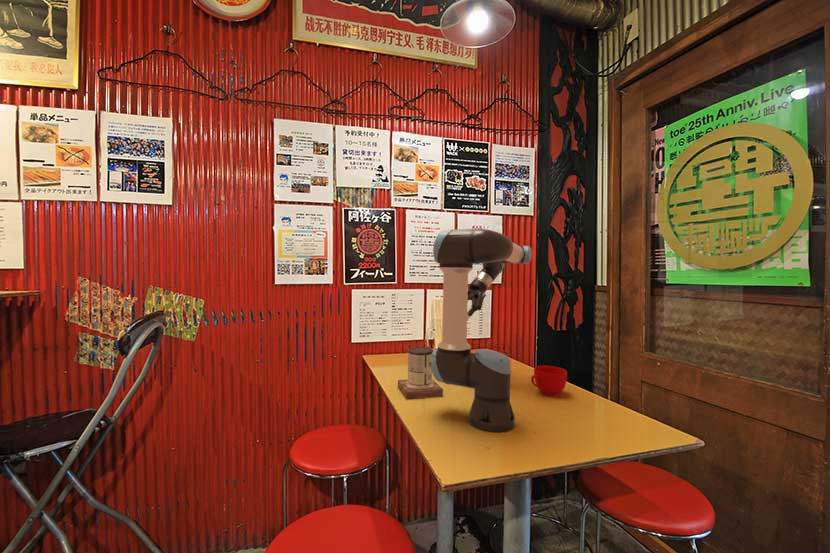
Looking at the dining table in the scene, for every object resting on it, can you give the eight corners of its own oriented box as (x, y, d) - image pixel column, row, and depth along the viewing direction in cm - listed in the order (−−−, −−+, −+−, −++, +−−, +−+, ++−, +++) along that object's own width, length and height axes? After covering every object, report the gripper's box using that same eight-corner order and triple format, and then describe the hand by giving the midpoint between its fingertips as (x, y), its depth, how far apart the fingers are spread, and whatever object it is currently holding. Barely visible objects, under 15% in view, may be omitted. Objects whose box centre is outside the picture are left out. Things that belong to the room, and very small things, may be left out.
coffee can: (408, 378, 153) (409, 346, 153) (432, 380, 152) (433, 347, 152) (405, 386, 143) (406, 351, 143) (431, 388, 142) (432, 352, 142)
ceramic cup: (519, 392, 150) (520, 368, 150) (548, 386, 158) (549, 364, 157) (543, 402, 138) (544, 376, 138) (573, 396, 146) (574, 372, 146)
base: (442, 396, 142) (442, 388, 142) (406, 399, 138) (406, 390, 138) (430, 384, 157) (431, 377, 157) (397, 387, 153) (398, 379, 153)
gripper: (504, 291, 153) (477, 328, 145) (467, 288, 174) (441, 320, 167) (495, 279, 150) (467, 316, 142) (459, 277, 171) (432, 309, 164)
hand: (453, 318), depth 155 cm, fingers open, 13 cm apart
